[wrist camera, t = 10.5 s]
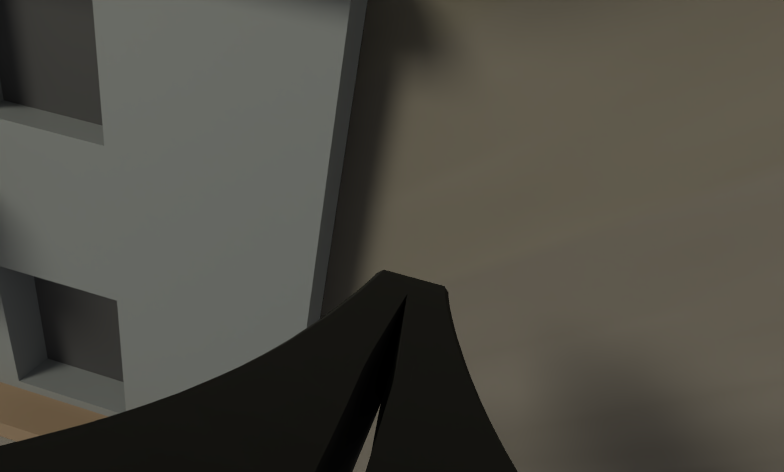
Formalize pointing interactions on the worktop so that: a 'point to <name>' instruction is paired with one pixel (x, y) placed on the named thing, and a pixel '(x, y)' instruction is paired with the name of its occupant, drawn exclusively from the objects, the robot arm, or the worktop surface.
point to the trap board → (162, 193)
